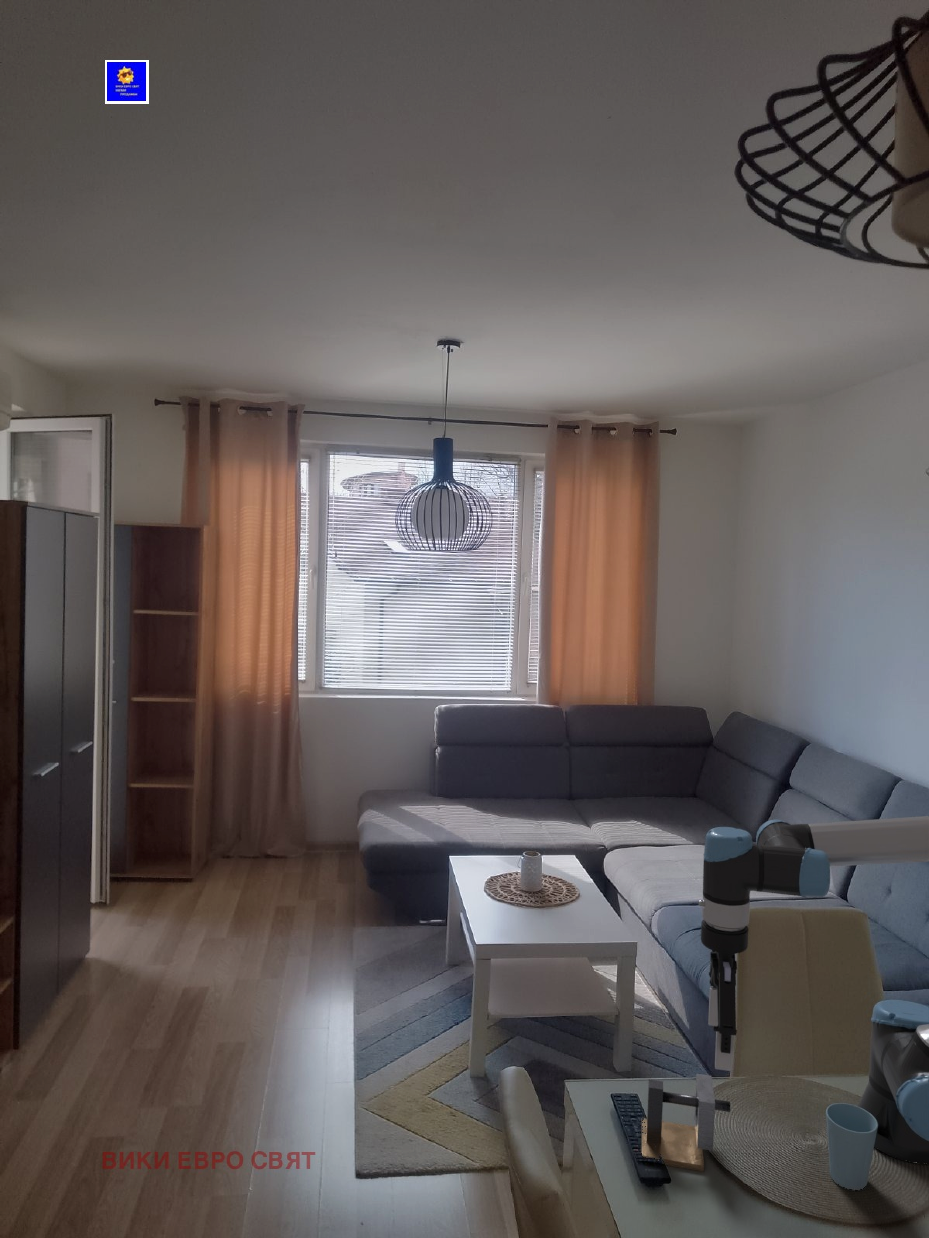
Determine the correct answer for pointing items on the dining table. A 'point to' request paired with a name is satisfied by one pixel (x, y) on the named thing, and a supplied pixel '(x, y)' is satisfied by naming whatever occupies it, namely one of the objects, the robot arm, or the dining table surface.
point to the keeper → (672, 1130)
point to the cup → (850, 1144)
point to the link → (704, 1112)
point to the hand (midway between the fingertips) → (720, 1046)
